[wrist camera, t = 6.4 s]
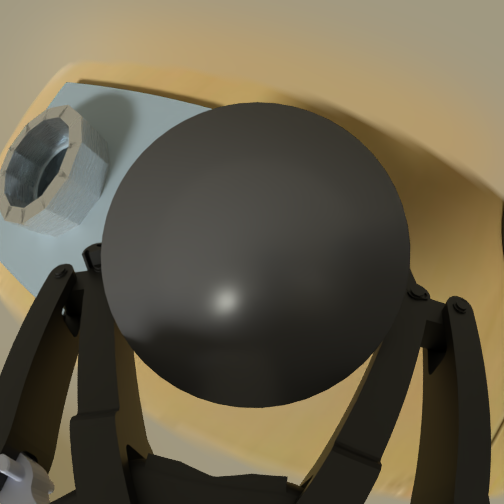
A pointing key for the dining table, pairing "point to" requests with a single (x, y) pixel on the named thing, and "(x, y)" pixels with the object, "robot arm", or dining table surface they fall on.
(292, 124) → the dome-topped grey cylinder
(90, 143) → the pale grey faceted ring
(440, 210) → the dining table surface
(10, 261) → the board
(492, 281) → the dining table surface
